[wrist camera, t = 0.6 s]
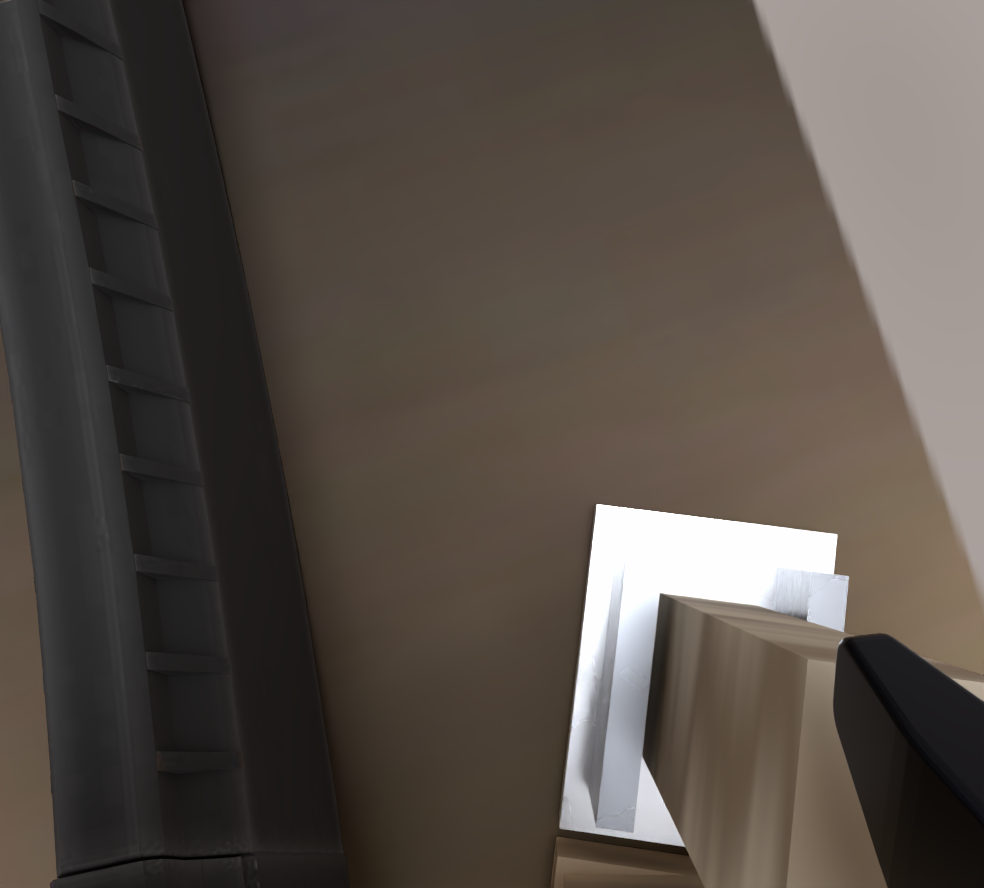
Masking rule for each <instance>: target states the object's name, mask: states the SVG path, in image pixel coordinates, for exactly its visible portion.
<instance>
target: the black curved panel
mask: <svg viewBox="0 0 984 888" xmlns="http://www.w3.org/2000/svg"><path fill="white" fill-rule="evenodd" d="M0 325H1V332H2V338H3V344H4V351H5V357H6V363H7V370H8V376H9V382H10V392H11V399H12V404H13V411H14V419H15V427H16V434H17V442H18V450H19V458H20V466H21V474H22V476H21V477H22V485H23V493H24V498H25V506H26V514H27V522H28V530H29V538H30V546H31V554H32V563H33V571H34V583H35V592H36V599H37V610H38V622H39V633H40V644H41V656H42V667H43V683H44V693H45V704H46V717H47V730H48V743H49V756H50V770H51V794H52V799H53V816H54V833H55V850H56V867H57V878H60V879H56V880H53V881H52V882H51V883H50V888H350V884H349V877H348V869H347V861H346V856H345V855H344V853H343V846H342V839H341V831H340V824H339V818H338V811H337V804H336V797H335V790H334V784H333V777H332V770H331V764H330V757H329V751H328V744H327V738H326V731H325V725H324V718H323V712H322V705H321V699H320V692H319V686H318V679H317V673H316V666H315V660H314V653H313V647H312V641H311V634H310V628H309V621H308V615H307V608H306V602H305V595H304V589H303V583H302V577H301V571H300V566H299V560H298V554H297V548H296V542H295V536H294V531H293V525H292V519H291V513H290V508H289V502H288V497H287V491H286V486H285V480H284V475H283V469H282V464H281V458H280V453H279V447H278V442H277V436H276V431H275V426H274V421H273V416H272V411H271V406H270V401H269V396H268V391H267V386H266V381H265V376H264V370H263V365H262V360H261V355H260V351H259V346H258V341H257V336H256V331H255V326H254V321H253V316H252V311H251V306H250V301H249V297H248V292H247V287H246V282H245V278H244V273H243V268H242V264H241V259H240V254H239V250H238V245H237V240H236V236H235V231H234V226H233V222H232V217H231V213H230V208H229V204H228V199H227V195H226V190H225V186H224V181H223V177H222V172H221V168H220V163H219V159H218V154H217V150H216V145H215V141H214V136H213V132H212V128H211V124H210V119H209V115H208V111H207V107H206V102H205V98H204V94H203V89H202V85H201V81H200V77H199V72H198V68H197V64H196V59H195V55H194V51H193V47H192V42H191V38H190V34H189V29H188V25H187V21H186V17H185V12H184V8H183V4H182V0H0Z"/></svg>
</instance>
